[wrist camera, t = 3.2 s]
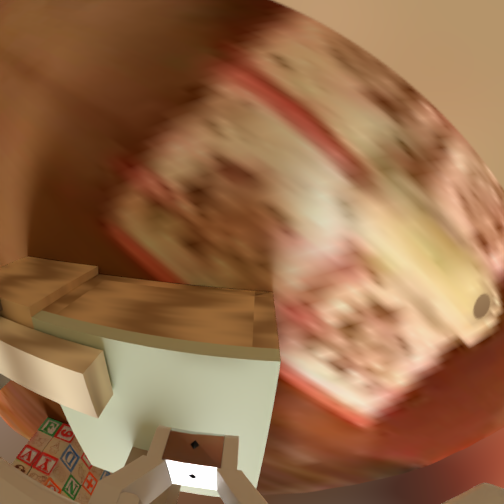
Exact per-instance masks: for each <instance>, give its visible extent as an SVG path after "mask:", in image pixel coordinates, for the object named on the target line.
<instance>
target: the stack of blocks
mask: <svg viewBox="0 0 504 504" xmlns="http://www.w3.org/2000/svg"><path fill="white" fill-rule="evenodd" d="M11 465H13V466H14V467H15V468H17V469H18V470H20V471H21V472H23V473H25V474H26V475H28V476H29V477H31V478H33V479H34V480H36V481H38V482H39V483H41V484H43V485H44V486H46V487H48V488H50V489H52V490H53V491H55V492H57V493H59V494H61V495H63V496H65V497H67V498H69V499H71V500H73V501H76V502H78V503H80V504H88V502H89V500H90V498H91V496H92V493H93V491H94V489H95V487H96V485H97V483H98V481H99V480H101V479H103V478H105V477H107V476H109V475H110V473H109V472H108V471H106V470H104V469H101V468H98V467H96V466H93V465H91V463H90V461H89V460H88V458H87V456H86V454H85V453H84V451H83V449H82V447H81V446H80V444H79V442H78V440H77V438H76V436H75V434H74V432H73V430H72V428H71V426H70V425H68V424H65V423H62V422H59V421H56V420H54V419H51V418H49V417H48V418H47V419H46V420H45V421H44V423H43V424H42V425H41V426H40V428H39V429H38V431H37V432H36V433H35V434H34V436H33V437H32V438H31V439H30V441H29V442H28V444H27V445H25V447H24V448H23V449H22V451H21V452H20V453H19V454H18V456H17V457H16V459H15V461H14V462H13V463H12V464H11Z"/></svg>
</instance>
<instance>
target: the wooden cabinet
mask: <svg viewBox="0 0 504 504" xmlns="http://www.w3.org/2000/svg"><path fill="white" fill-rule="evenodd" d="M41 310H43V311H46V312H50V313H53V314H57V315H61V316H64V317H68V318H72V319H76V320H80V321H85V322H89V323H93V324H98V325H102V326H107V327H112V328H117V329H122V330H127V331H132V332H137V333H143V334H149V335H155V336H161V337H167V338H174V339H181V340H188V341H196V342H204V343H213V344H223V345H233V346H244V347H257V348H273V349H279V342H278V333H277V324H276V315H275V307H274V298H273V292H264V291H252V290H239V289H228V288H217V287H206V286H196V285H186V284H177V283H168V282H159V281H150V280H142V279H134V278H126V277H118V276H111V275H103V274H99V273H98V266H92V265H85V264H77V263H70V262H63V261H56V260H49V259H42V258H35V257H29V256H27V257H24V258H22V259H19V260H17V261H14V262H12V263H9V264H7V265H5V266H2V267H0V316H1V317H3V318H6V319H8V320H10V321H13V322H16V323H18V324H21V325H23V326H26V327H29V328H31V329H34V326H33V322H32V318H31V317H33V316H34V315H35V314H37V313H38V312H40V311H41ZM10 380H11V379H9V378H7V377H6V376H4V375H2V374H1V373H0V389H1V388H3V387H4V386H5V385H6V384H7V383H8V382H9V381H10Z"/></svg>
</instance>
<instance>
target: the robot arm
mask: <svg viewBox="0 0 504 504" xmlns="http://www.w3.org/2000/svg"><path fill="white" fill-rule="evenodd" d="M238 448H239V436H233V435H225V434H213V433H204V432H193V431H188V430H182V429H177V428H172V427H167V426H162V425H159V426H158V427H157V429H156V431H155V434H154V437H153V440H152V442H151V445H150V448H149V450H148V453H147V456H145V455H142V456H141V457H139V458H137V459H136V460H134V461H132V462H131V463H129V464H128V465H126V466H124V467H122V468H121V469H119V470H117V471H116V472H114V473H112V474H110V475H109V476H107V477H105V478H103V479H101V480H99V481H98V483H97V485H96V487H95V489H94V491H93V493H92V496H91V498H90V500H89V502H88V504H149V503H151V502H152V501H153V500H154V499H156V498H157V497H158V496H159V495H160V494H162V493H163V492H164V491H165V490H166V489H167V488H169V487H170V486H171V485H172V483H173V484H179V485H186V486H193V487H199V488H206V489H213V490H217V492H218V493H219V495H220V497H221V498H222V500H223V502H224V503H225V504H268V503H267V502H266V500H265V499H264V498H263V497H262V496H261V494H260V493H259V492H258V491H257V490H256V488H255V487H254V486H253V485H252V483H251V482H250V481H249V480H248V478H247V477H246V476H245V474H244V473H243V472H242V470H237V466H238ZM0 504H80V503H78V502H76V501H73V500H71V499H69V498H67V497H65V496H63V495H61V494H59V493H57V492H55V491H53V490H52V489H50V488H48V487H46V486H44V485H43V484H41V483H39V482H38V481H36V480H34V479H33V478H31V477H29V476H28V475H26V474H25V473H23V472H21V471H20V470H18V469H17V468H15V467H14V466H13V465H11V464H10V463H8V462H7V461H5V460H4V459H3V458H1V457H0ZM442 504H504V489H503V488H500V487H498V486H495V485H493V484H489V483H482V484H479V485H477V486H475V487H473V488H472V489H470V490H468V491H466V492H464V493H462V494H460V495H458V496H457V497H454V498H452V499H450V500H449V501H446V502H444V503H442Z"/></svg>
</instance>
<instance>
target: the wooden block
mask: <svg viewBox="0 0 504 504" xmlns="http://www.w3.org/2000/svg"><path fill="white" fill-rule="evenodd" d="M0 373H1V374H2V375H4V376H6V377H7V378H9V379H11V380H13V381H14V382H16V383H18V384H20V385H22V386H24V387H26V388H27V389H29V390H31V391H33V392H35V393H37V394H39V395H41V396H44V397H46V398H48V399H50V400H52V401H54V402H57V403H59V404H61V405H64V406H66V407H69V408H71V409H73V410H76V411H79V412H81V413H84V414H87V415H89V416H92V417H95V418H99V416H100V415H101V413H102V411H103V410H104V408H105V407H106V405H107V403H108V402H109V400H110V399H111V397H112V396H113V390H112V386H111V382H110V378H109V374H108V370H107V366H106V362H105V357H104V352H103V350H100V349H96V348H92V347H89V346H85V345H81V344H78V343H74V342H71V341H68V340H64V339H61V338H58V337H55V336H52V335H49V334H46V333H43V332H40V331H37V330H34V329H31V328H29V327H26V326H23V325H21V324H18V323H16V322H13V321H10V320H8V319H6V318H3V317H1V316H0Z"/></svg>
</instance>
